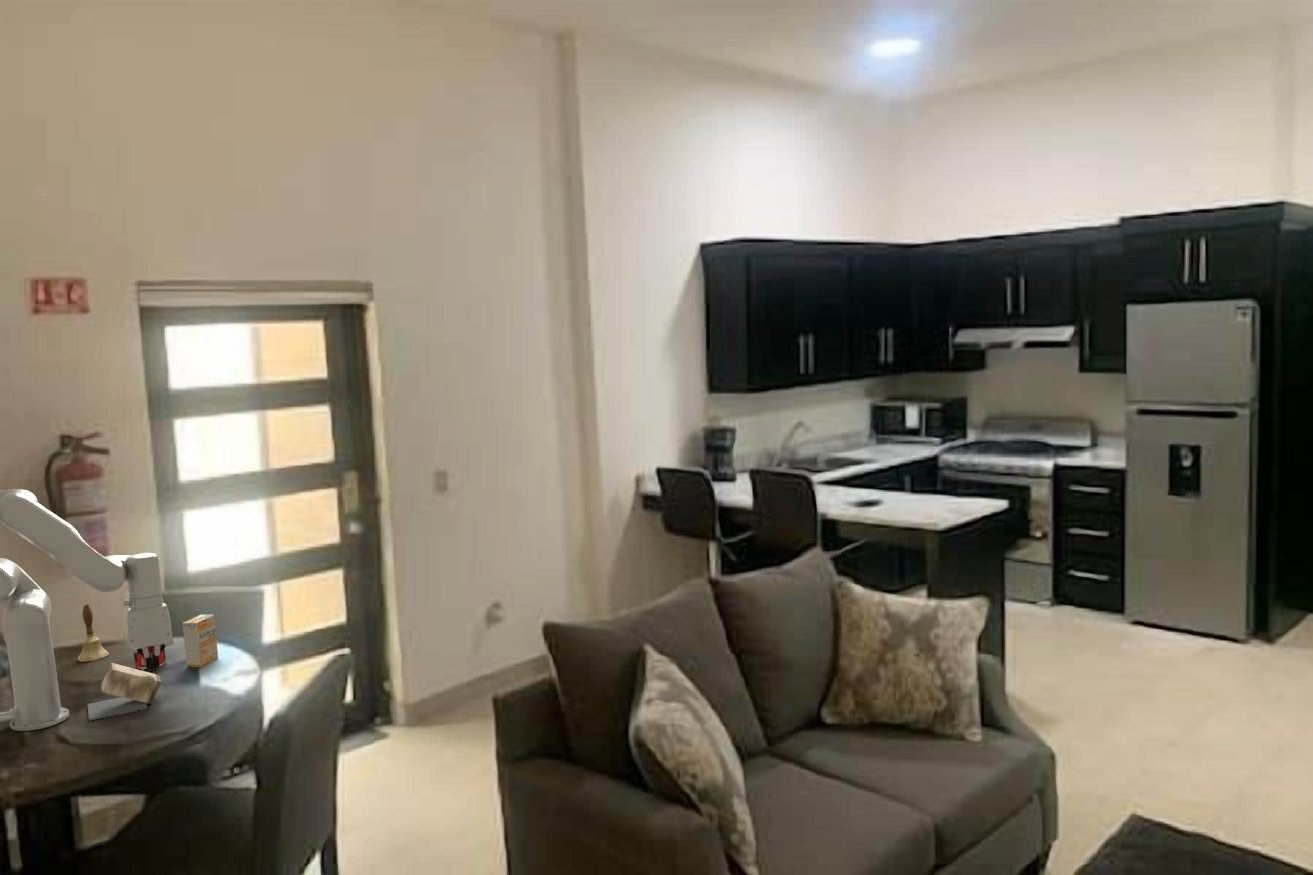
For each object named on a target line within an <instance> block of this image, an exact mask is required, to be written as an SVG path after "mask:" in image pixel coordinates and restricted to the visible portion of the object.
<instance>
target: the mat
mask: <svg viewBox="0 0 1313 875" xmlns="http://www.w3.org/2000/svg"><path fill="white" fill-rule="evenodd" d="M146 708H147V709H148V703H144V702H140V701H136V700H132V699H128V698H124V697H120V696H119V697H116V698H110V699H106V700H102V701H101V700H100V701H96V702H91V703H87V711H88V712H87V713H88V722H89V721H90V722H92V721H91V720H94V721H97V720H96V719H99V718H104V719H107V718H106V717H108V716H113V715H117V716H120V715H121V716H122V715H126V714H125V713H127V714H130V713H129V712H131V713H135V712H134V711H136V712H138V711H137V710H141V711H144V710H143V709H145V710H147V709H146ZM113 717H114V716H113ZM108 718H109V717H108ZM99 720H100V719H99Z"/></svg>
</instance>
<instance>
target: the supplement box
mask: <svg viewBox="0 0 1313 875" xmlns="http://www.w3.org/2000/svg"><path fill="white" fill-rule="evenodd" d="M182 630H183V637H184V638H183V639H184V640H183V642H184V649H185V651H184V652H185V658H186V659H185V660H186V667H187V666H192V667H191V668H202V667H204V666H205V665H207V664H209V663H211V662H212V661H214V660H216V659H218V658H219V653H218V652H219V651H218V642H217V634H216V621H215V614H199V615H197V616H195V617H192V618H191V619H188V620H186V621H184V622H182Z"/></svg>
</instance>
